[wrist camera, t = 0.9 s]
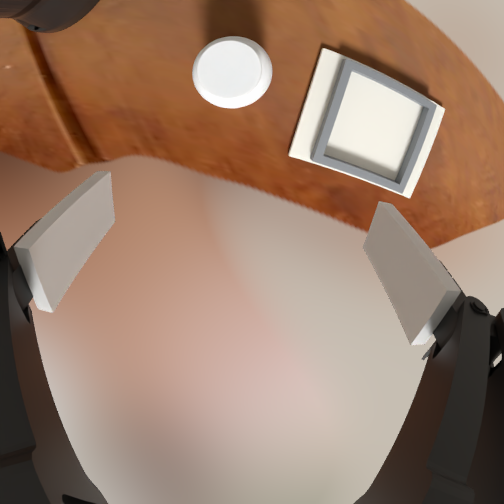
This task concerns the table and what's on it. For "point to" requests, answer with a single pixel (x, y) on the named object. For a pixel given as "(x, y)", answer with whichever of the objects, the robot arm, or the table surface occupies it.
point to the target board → (365, 124)
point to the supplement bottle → (232, 72)
